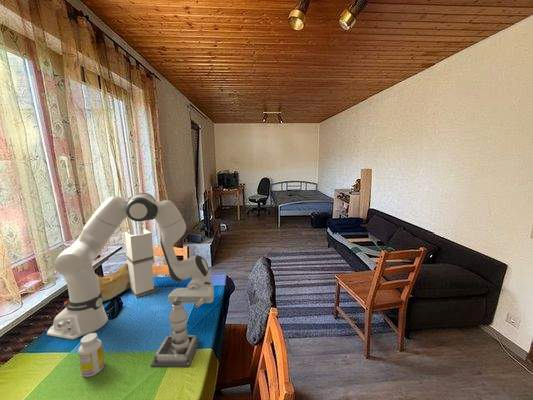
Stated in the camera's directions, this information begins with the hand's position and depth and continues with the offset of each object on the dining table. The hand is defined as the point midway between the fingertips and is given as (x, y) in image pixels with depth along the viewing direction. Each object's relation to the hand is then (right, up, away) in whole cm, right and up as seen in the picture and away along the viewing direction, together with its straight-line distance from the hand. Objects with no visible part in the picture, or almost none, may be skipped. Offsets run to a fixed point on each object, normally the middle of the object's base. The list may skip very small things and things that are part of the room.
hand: (185, 305), depth 102 cm
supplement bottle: (-27, -16, -17) cm, 36 cm away
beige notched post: (-37, -8, +37) cm, 53 cm away
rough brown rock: (-54, -8, +35) cm, 65 cm away
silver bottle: (+1, -13, -10) cm, 16 cm away
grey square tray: (0, -14, -10) cm, 17 cm away
